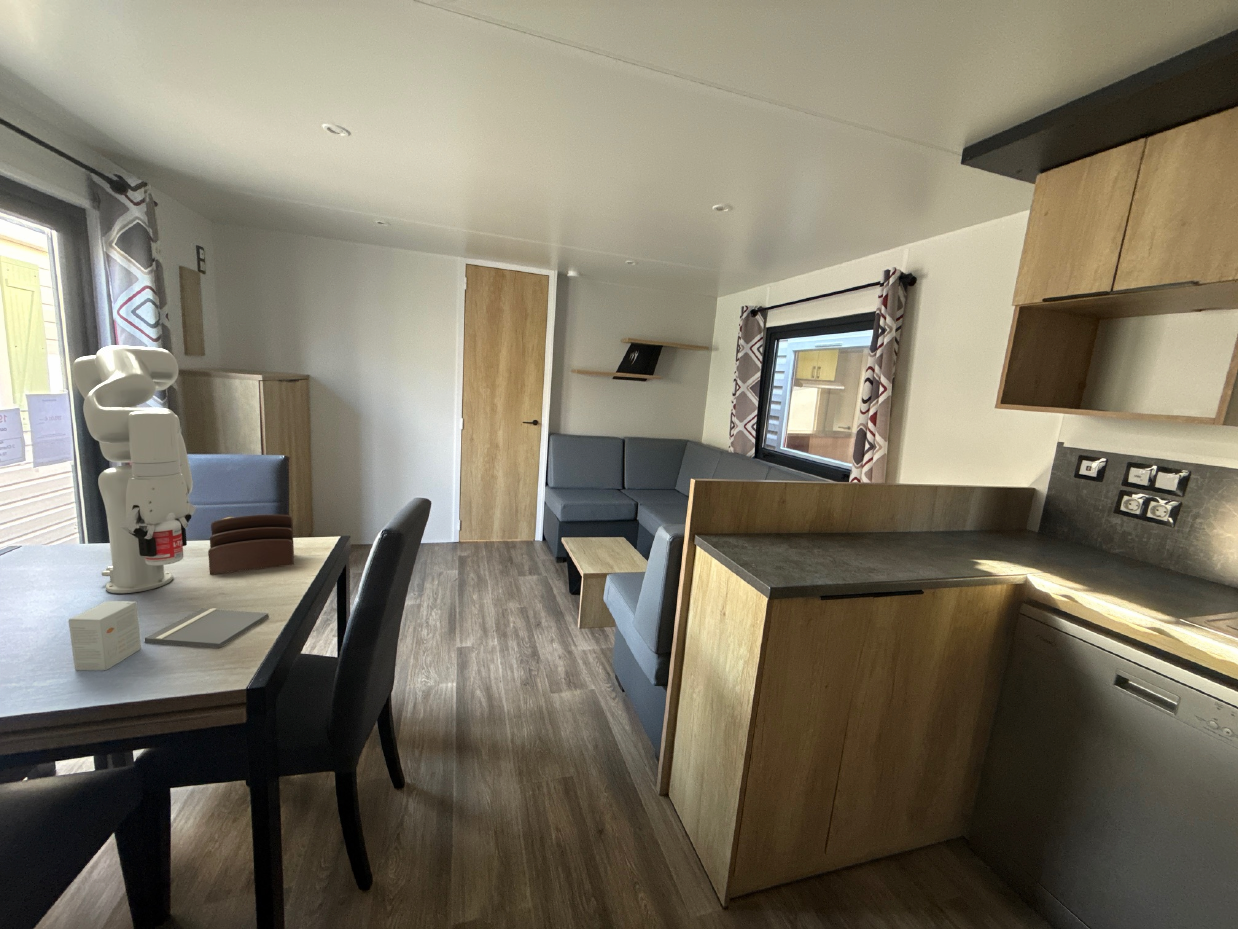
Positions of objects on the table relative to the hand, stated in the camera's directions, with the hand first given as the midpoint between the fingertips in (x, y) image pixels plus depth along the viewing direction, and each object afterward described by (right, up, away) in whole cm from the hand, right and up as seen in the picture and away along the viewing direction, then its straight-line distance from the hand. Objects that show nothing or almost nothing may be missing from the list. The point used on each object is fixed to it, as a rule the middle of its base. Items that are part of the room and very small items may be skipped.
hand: (164, 549), depth 107 cm
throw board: (+8, -18, +3) cm, 20 cm away
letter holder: (-10, -12, +40) cm, 43 cm away
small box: (-1, -20, -10) cm, 23 cm away
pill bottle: (0, -3, 0) cm, 3 cm away
